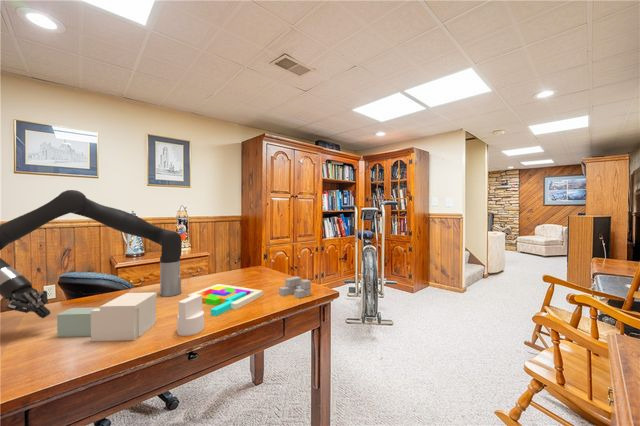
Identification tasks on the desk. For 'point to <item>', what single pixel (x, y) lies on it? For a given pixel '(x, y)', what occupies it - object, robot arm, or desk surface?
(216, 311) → the puzzle game
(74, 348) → the desk surface
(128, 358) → the desk surface
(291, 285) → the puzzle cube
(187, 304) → the cylinder with rectangular tab
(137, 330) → the cream slotted block
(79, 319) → the pale sage rectangular prism
